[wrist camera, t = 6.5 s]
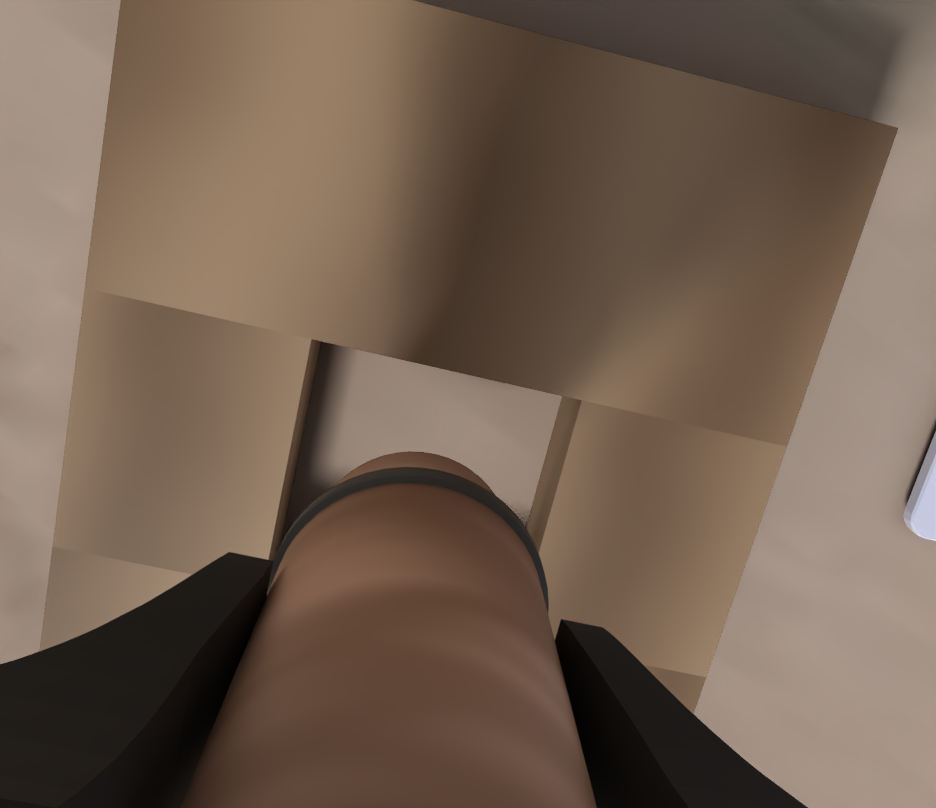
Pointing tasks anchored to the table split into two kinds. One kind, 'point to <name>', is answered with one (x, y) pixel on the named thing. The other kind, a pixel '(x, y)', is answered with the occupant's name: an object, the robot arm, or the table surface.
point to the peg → (399, 659)
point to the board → (448, 291)
